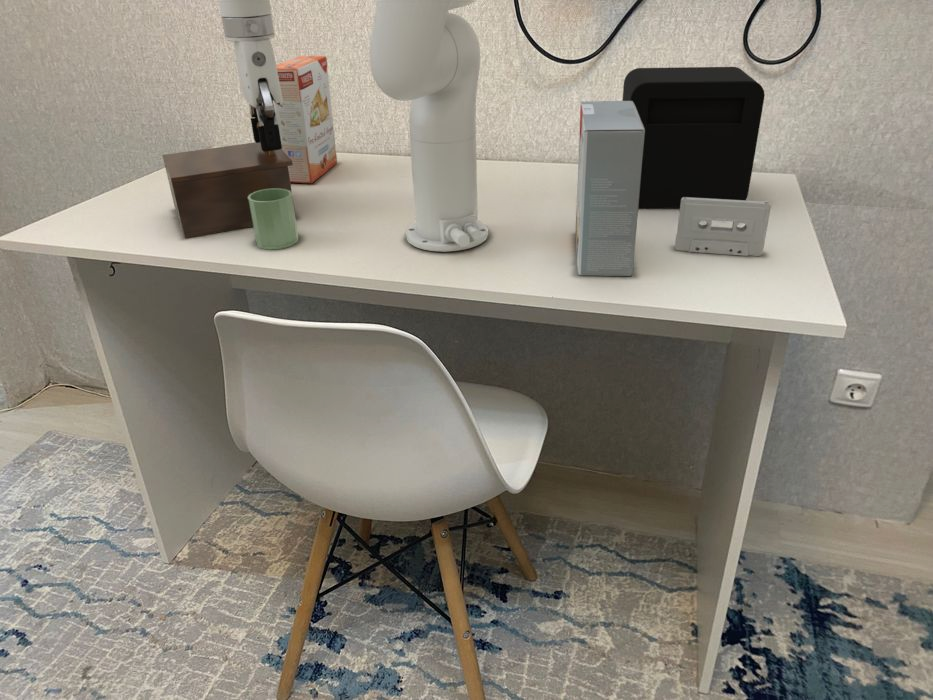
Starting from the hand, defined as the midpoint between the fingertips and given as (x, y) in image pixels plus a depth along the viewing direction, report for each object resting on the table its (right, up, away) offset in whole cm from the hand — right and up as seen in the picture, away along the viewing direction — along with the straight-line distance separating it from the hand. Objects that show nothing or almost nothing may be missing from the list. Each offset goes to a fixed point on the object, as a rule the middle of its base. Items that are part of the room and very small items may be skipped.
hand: (267, 144), depth 123 cm
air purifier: (+70, -7, +5) cm, 70 cm away
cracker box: (+3, 0, +23) cm, 23 cm away
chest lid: (-6, -3, -1) cm, 7 cm away
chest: (-6, -11, +3) cm, 13 cm away
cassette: (+69, -20, -17) cm, 74 cm away
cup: (+4, -17, -8) cm, 20 cm away
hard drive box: (+53, -21, -16) cm, 59 cm away
